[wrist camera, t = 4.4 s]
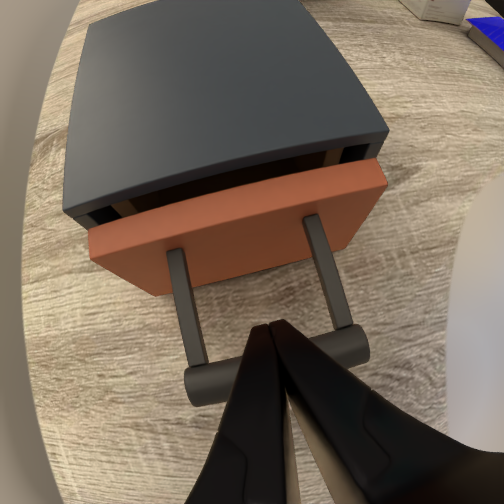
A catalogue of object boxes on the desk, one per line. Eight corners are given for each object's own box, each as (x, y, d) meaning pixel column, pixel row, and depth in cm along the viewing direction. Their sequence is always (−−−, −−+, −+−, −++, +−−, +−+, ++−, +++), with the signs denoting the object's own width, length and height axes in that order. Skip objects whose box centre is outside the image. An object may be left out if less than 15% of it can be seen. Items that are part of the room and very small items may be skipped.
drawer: (374, 345, 16) (443, 336, 9) (176, 396, 15) (116, 422, 8) (281, 89, 21) (283, 7, 14) (135, 125, 21) (97, 51, 14)
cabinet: (342, 224, 19) (390, 130, 10) (145, 273, 18) (61, 211, 10) (278, 74, 23) (279, -22, 14) (130, 110, 22) (88, 24, 14)
